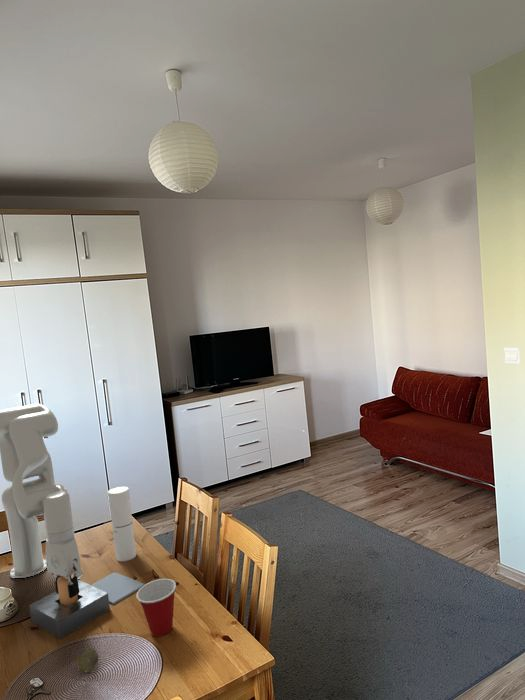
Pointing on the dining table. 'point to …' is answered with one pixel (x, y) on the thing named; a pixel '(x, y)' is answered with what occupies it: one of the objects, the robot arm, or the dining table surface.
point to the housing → (69, 610)
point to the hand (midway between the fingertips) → (67, 592)
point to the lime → (88, 660)
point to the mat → (117, 586)
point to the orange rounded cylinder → (65, 591)
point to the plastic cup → (158, 605)
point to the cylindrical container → (122, 523)
